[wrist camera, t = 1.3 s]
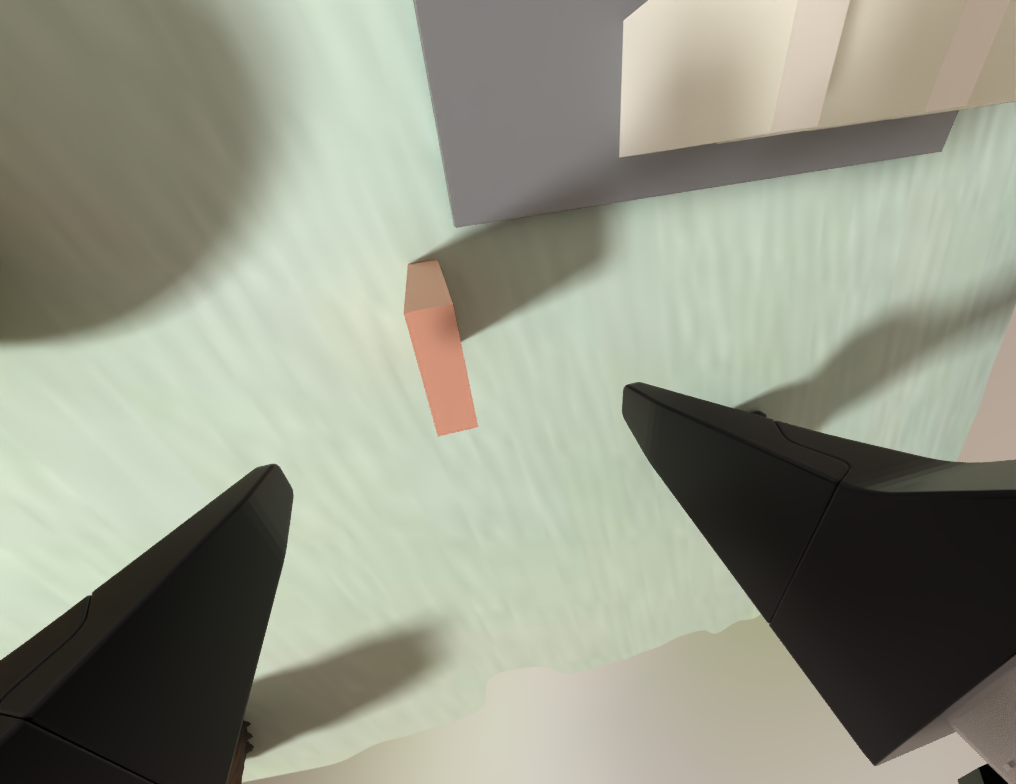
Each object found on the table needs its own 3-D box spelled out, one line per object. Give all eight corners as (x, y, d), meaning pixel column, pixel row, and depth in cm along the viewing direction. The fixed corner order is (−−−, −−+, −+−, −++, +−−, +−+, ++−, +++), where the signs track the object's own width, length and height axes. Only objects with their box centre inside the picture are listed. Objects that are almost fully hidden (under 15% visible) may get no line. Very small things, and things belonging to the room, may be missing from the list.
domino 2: (743, 140, 19) (966, 105, 11) (716, 144, 19) (924, 111, 11) (766, 8, 16) (1074, -152, 9) (735, 10, 16) (1023, -150, 9)
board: (921, 153, 23) (941, 151, 22) (454, 225, 19) (456, 227, 18) (1004, -59, 18) (1033, -72, 17) (409, -22, 14) (409, -36, 13)
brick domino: (455, 344, 22) (478, 426, 14) (429, 350, 22) (438, 436, 14) (437, 259, 19) (453, 304, 12) (407, 264, 19) (403, 313, 12)
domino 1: (648, 153, 18) (817, 126, 11) (619, 157, 18) (770, 132, 10) (657, 17, 16) (888, -148, 8) (623, 20, 16) (827, -147, 8)
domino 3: (831, 127, 20) (1096, 87, 12) (806, 131, 20) (1060, 92, 12) (867, -1, 17) (1231, -155, 10) (838, 2, 17) (1188, -153, 9)
